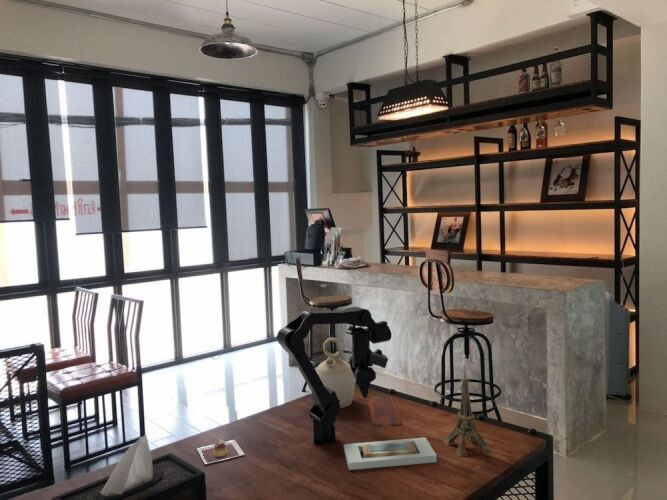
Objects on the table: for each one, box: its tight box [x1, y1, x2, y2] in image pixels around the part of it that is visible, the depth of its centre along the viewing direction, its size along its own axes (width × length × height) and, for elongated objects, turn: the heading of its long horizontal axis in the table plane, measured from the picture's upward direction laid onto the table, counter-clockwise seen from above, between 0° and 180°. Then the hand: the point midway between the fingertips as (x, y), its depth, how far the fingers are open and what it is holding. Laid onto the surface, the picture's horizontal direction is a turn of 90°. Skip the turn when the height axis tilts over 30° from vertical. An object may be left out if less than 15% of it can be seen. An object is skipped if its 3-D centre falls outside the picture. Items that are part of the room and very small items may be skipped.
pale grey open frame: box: [343, 437, 438, 471], centre depth 157 cm, size 25×12×2 cm, turn 95°
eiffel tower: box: [442, 364, 493, 458], centre depth 160 cm, size 11×11×25 cm
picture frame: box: [362, 442, 417, 458], centre depth 157 cm, size 15×6×3 cm, turn 92°
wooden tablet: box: [368, 396, 403, 427], centre depth 192 cm, size 27×10×2 cm, turn 0°
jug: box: [315, 336, 356, 409], centre depth 201 cm, size 15×16×25 cm
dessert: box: [196, 438, 246, 465], centre depth 164 cm, size 12×12×5 cm
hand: (362, 392), depth 177 cm, fingers open, 9 cm apart
